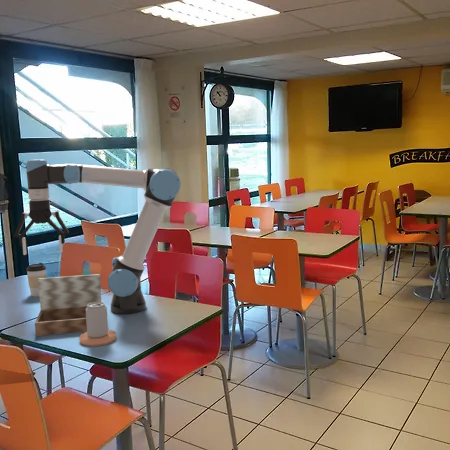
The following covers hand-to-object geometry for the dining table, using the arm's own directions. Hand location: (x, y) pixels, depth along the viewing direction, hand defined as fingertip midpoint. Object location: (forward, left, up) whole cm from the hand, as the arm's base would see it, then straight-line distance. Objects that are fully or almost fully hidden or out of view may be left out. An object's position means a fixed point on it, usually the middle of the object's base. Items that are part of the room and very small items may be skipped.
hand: (43, 253), depth 199 cm
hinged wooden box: (-9, +6, -29) cm, 31 cm away
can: (-20, +24, -27) cm, 42 cm away
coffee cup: (+10, -45, -29) cm, 54 cm away
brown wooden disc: (-20, +24, -29) cm, 42 cm away
